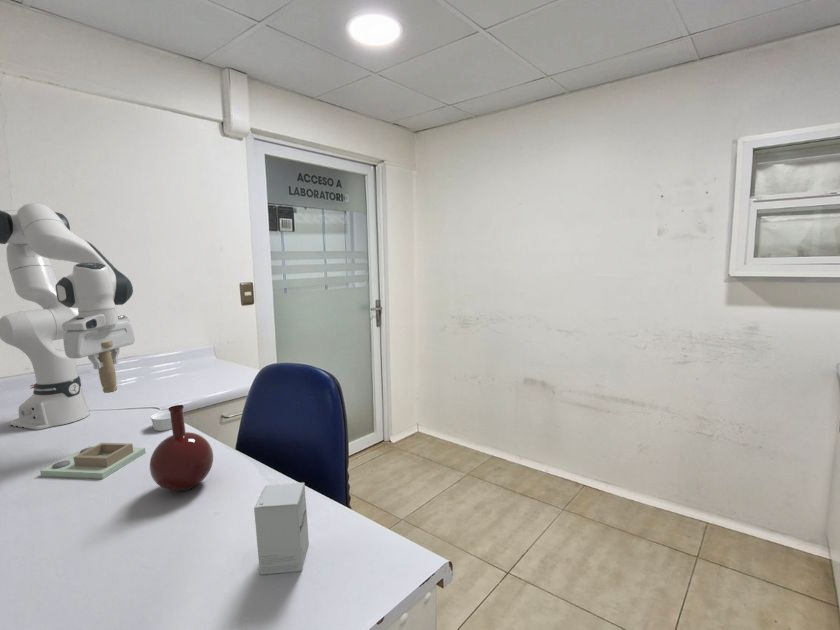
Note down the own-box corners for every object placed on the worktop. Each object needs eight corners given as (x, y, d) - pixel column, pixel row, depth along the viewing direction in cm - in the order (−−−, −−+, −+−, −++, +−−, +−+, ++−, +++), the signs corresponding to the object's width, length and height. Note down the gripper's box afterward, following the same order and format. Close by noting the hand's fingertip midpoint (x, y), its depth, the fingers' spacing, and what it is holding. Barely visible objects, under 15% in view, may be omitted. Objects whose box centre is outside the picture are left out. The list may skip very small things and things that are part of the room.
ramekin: (182, 419, 146) (180, 407, 145) (184, 427, 139) (183, 414, 138) (151, 425, 141) (150, 413, 140) (152, 434, 134) (151, 421, 133)
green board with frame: (40, 476, 109) (38, 461, 109) (89, 450, 123) (87, 437, 123) (103, 478, 107) (101, 463, 107) (145, 452, 121) (143, 439, 120)
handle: (100, 396, 121) (91, 344, 119) (99, 391, 126) (91, 342, 124) (121, 391, 124) (112, 341, 122) (119, 387, 129) (111, 339, 127)
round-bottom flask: (150, 509, 93) (139, 422, 90) (155, 482, 105) (145, 404, 102) (217, 492, 99) (208, 410, 96) (214, 468, 111) (206, 394, 108)
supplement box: (302, 572, 73) (297, 504, 72) (258, 575, 73) (252, 507, 71) (310, 543, 81) (305, 481, 79) (270, 546, 80) (264, 484, 78)
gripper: (118, 314, 133) (125, 357, 135) (55, 325, 113) (64, 376, 115) (137, 314, 132) (143, 357, 134) (76, 325, 112) (84, 376, 114)
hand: (106, 366), depth 124 cm, fingers closed on handle, 3 cm apart
